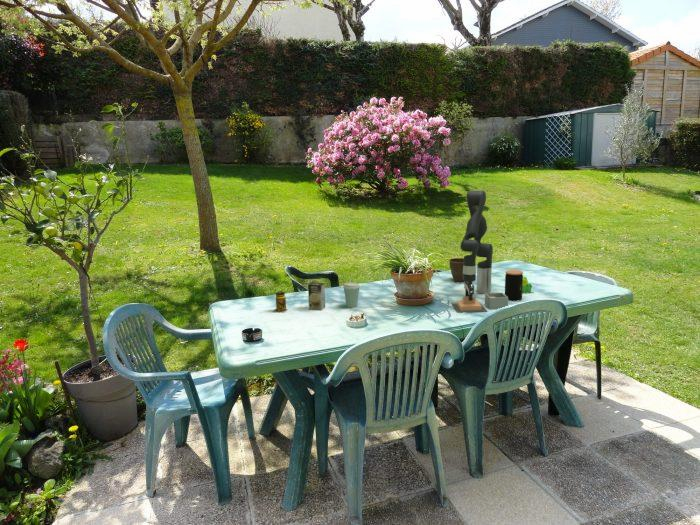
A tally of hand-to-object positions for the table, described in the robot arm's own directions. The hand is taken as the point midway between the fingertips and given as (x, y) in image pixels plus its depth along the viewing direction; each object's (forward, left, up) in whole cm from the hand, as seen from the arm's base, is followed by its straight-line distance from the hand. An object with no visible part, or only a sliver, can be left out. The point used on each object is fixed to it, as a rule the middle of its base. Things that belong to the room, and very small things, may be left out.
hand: (468, 298), depth 304 cm
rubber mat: (0, 0, -6) cm, 6 cm away
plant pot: (-63, +8, -6) cm, 64 cm away
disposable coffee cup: (-11, -71, -6) cm, 72 cm away
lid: (0, 0, -5) cm, 5 cm away
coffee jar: (-15, +32, -6) cm, 36 cm away
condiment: (-7, -116, -6) cm, 116 cm away
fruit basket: (-30, +43, -6) cm, 53 cm away
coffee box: (-9, -93, -6) cm, 94 cm away
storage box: (-1, +17, -6) cm, 18 cm away
